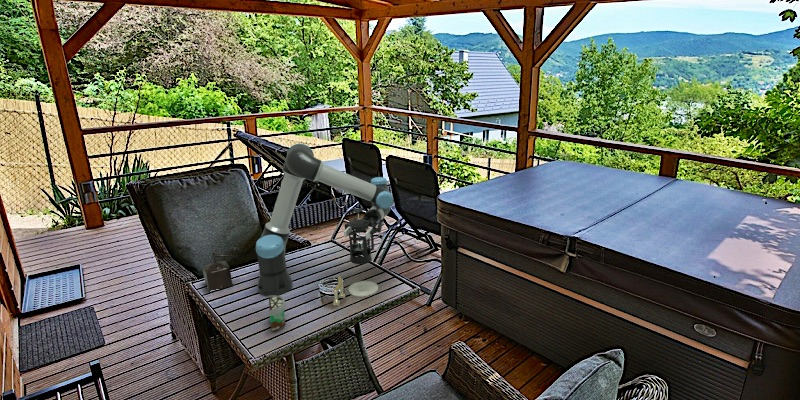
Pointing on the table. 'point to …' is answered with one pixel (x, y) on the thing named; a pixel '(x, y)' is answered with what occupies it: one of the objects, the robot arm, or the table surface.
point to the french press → (360, 247)
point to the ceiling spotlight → (341, 295)
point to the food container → (276, 312)
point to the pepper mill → (219, 272)
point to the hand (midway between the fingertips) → (355, 235)
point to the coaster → (363, 288)
